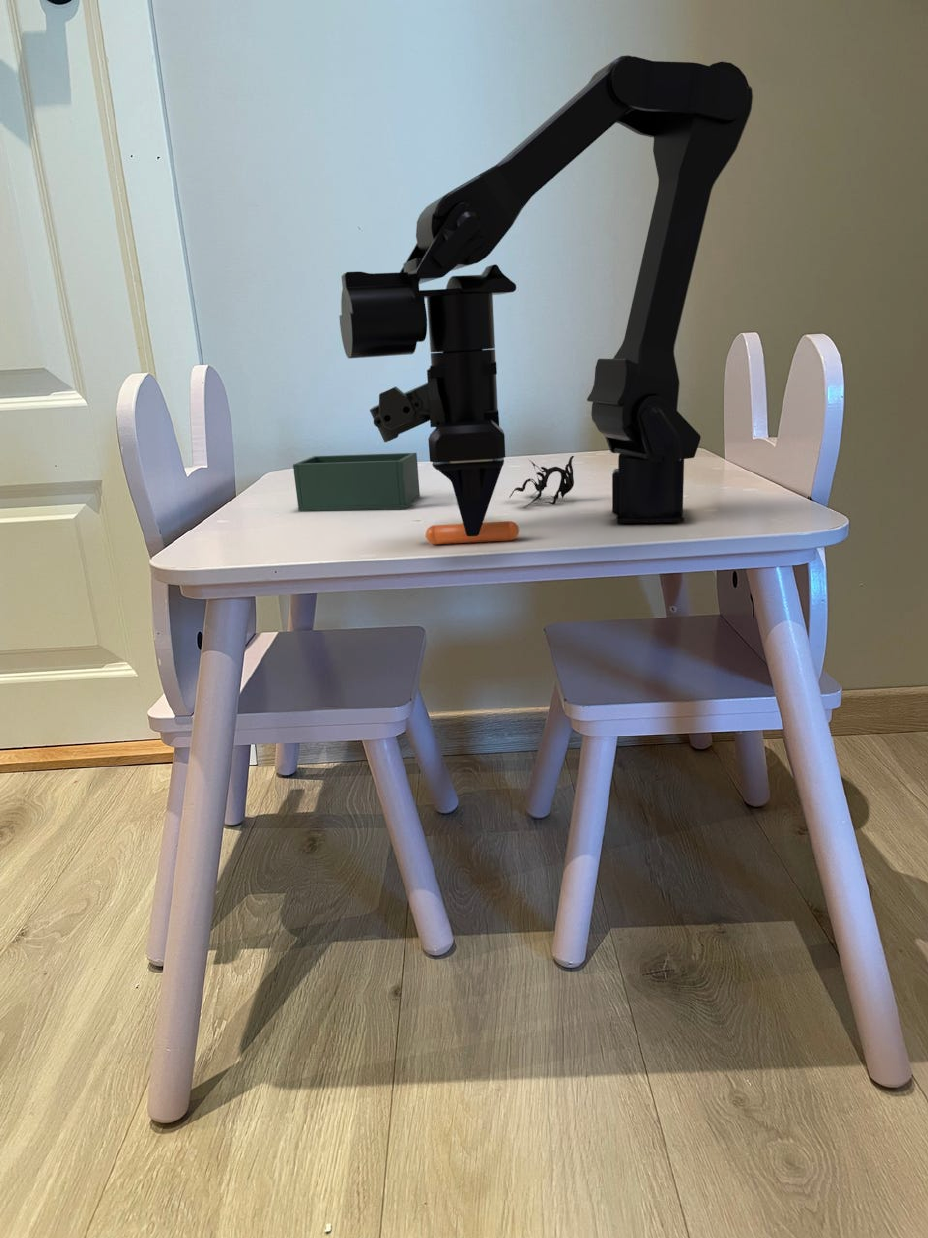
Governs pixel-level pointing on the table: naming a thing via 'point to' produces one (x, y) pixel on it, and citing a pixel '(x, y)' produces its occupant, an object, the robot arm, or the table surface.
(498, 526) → the orange capsule cylinder
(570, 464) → the creature
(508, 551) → the table surface
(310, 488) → the bin
